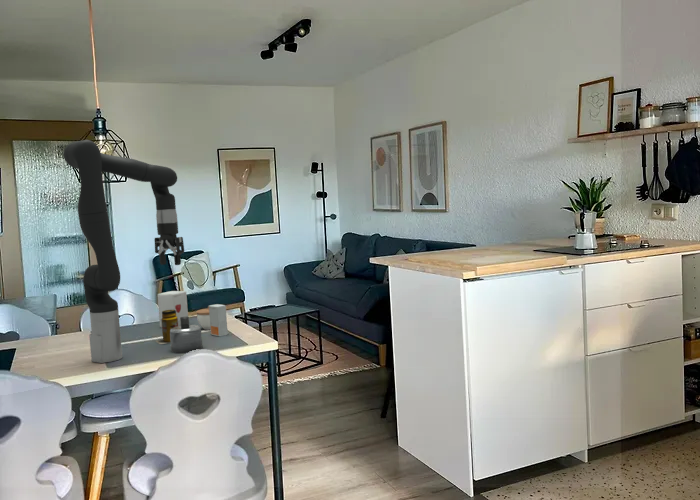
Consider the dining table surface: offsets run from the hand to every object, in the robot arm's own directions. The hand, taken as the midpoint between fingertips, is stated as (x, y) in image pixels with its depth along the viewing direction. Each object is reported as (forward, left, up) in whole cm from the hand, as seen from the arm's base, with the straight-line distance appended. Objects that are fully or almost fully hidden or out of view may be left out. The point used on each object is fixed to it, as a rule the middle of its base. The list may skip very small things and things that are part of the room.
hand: (170, 264), depth 231 cm
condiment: (+1, +6, -30) cm, 31 cm away
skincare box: (+17, -5, -30) cm, 35 cm away
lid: (-5, -12, -23) cm, 26 cm away
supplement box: (+22, +29, -30) cm, 47 cm away
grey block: (-5, -12, -30) cm, 33 cm away
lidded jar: (+25, +9, -30) cm, 40 cm away
